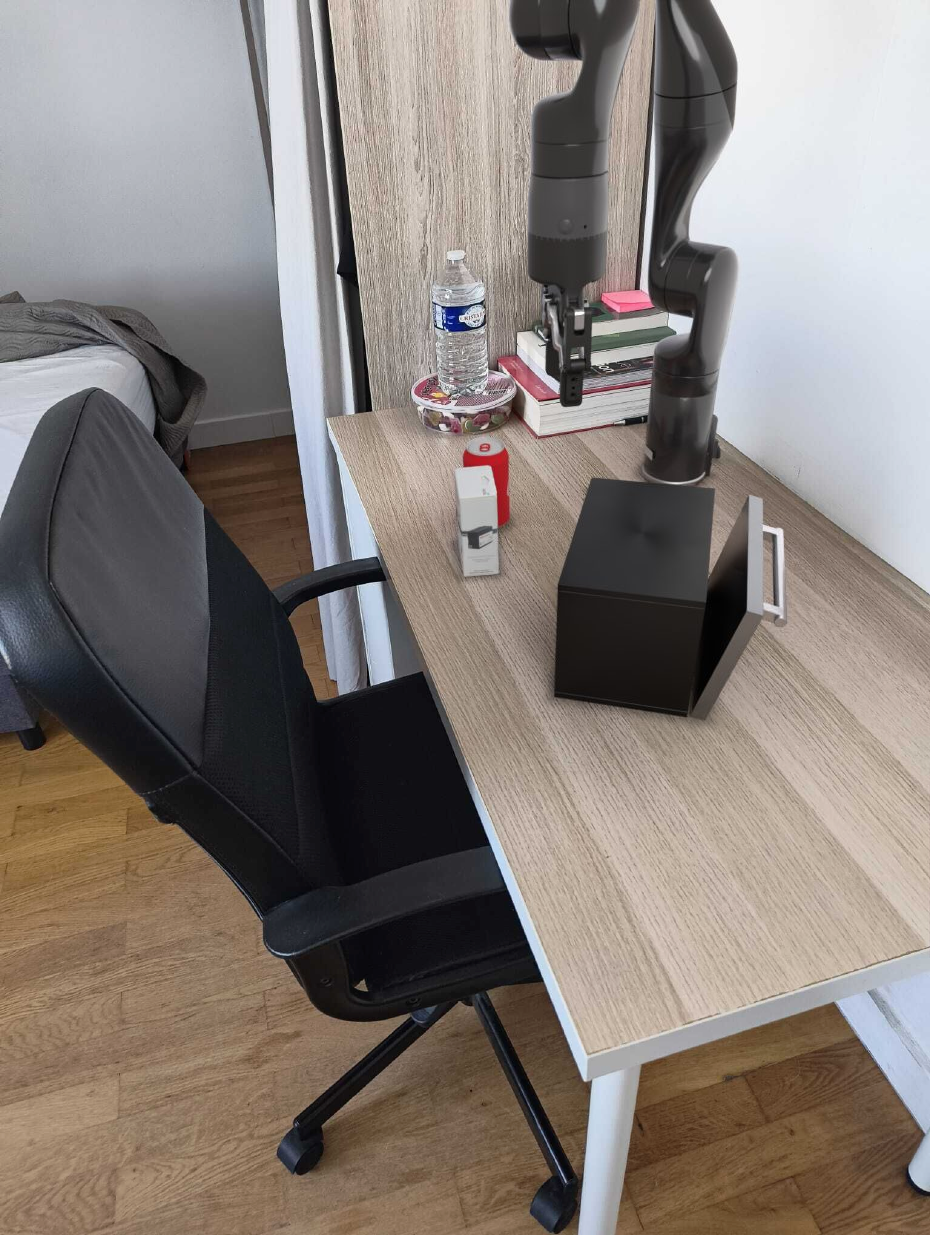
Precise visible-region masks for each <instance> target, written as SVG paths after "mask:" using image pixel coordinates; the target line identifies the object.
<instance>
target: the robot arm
mask: <svg viewBox="0 0 930 1235" xmlns="http://www.w3.org/2000/svg"><path fill="white" fill-rule="evenodd" d="M654 1H655V42H654V43H655V45H654V46H655V47H654V48H655V50H654V80H653V134H654V135H653V136H654V175H653V176H654V177H653V206H652V219H651V220H652V221H651V232H650V240H649V241H650V242H649V252H648V265H647V293H648V298H649V300H650V303H651V305H652V306H653V307H654V308H655V309H656V310H658V311H660V312H663V313H667V314H672V315H676V316H681V317H684V318H685V317H686V318H689V319H692V321H691V322H692V323H691V327H690V331H689V332H683V333H678V334H673V335H669V336H667V337H664V338H663V339H660V340H659V341H658V342H657V343H656V345H655V346H654V349H653V358H652V370H651V381H650V389H649V390H650V391H649V399H648V401H649V402H648V411H647V420H646V421H647V422H646V431H645V441H644V443H643V446H642V452H643V462H642V465H641V475H642V477H643V479H645V480H646V482H649V483H660V484H671V485H682V486H693V487H695V486H697V485H699V484H700V483H702V482H703V481H704V479H705V478H706V477H709V476H710V475H711V468H712V462H713V459H716V460H719V459H721V454H722V450H721V447H720V445H719V442H720V441H719V440H718V439H717V438H716V436H717V429H718V424H719V418H718V416H717V415H716V414H714V411H715V405H716V397H717V392H718V390H717V389H718V383H719V375H720V370H721V364H722V357H723V354H724V351H725V347H726V344H727V341H728V337H729V331H730V326H731V321H732V316H733V315H732V314H733V311H734V305H735V301H736V296H737V292H738V286H739V280H740V259H739V255H738V253H737V252H736V251H735V249H733V247H729V246H727V245H726V246H725V245H721V244H720V245H719V244H714V243H708V242H701V241H696V240H691V238H690V223H691V214H692V209H693V205H694V202H695V199H696V197H697V195H698V192H699V191H700V189H701V187H702V185H703V184H704V181H706V179H707V177H708V176H709V174H710V173H711V171H712V169H713V168H714V167H715V165H716V163H717V162H718V160H719V159H720V157H721V155H722V154H723V152H724V151H725V149H726V147H727V145H728V143H729V141H730V139H731V136H732V134H733V131H734V127H735V120H736V119H735V118H736V109H737V108H736V106H737V93H738V92H737V91H738V75H739V64H738V63H739V62H738V58H737V53H736V51H735V48H734V45H733V43H732V41H731V38H730V36H729V34H728V32H727V30H726V28H725V26H724V24H723V21H722V20H721V18H720V16H719V14H718V12H717V10H716V8H715V6H714V4H713V3H712V1H711V0H654ZM640 2H641V0H509V6H508V23H509V29H510V33H511V36H512V38H513V40H514V42H515V45H516V46H517V47H518V49H519V50H520V51H521V52H522V53H523V54H524V55H526V56H527V57H529V58H530V59H533V60H537V61H542V62H581V68H580V71H579V73H578V76H577V78H576V81H575V83H574V84H573V86H572V88H571V89H570V90H565V91H562V92H557V93H554V94H549V95H546V96H544V97H542V98H540V99H538V100H537V101H536V103H535V104H534V106H533V108H532V112H531V116H530V117H531V118H530V178H529V188H528V196H527V275H528V277H529V278H530V280H532V282H535V283H537V284H540V285H541V296H540V298H541V299H540V300H541V303H540V305H541V306H540V319H539V325H540V326H541V328H542V329H543V330H542V336H543V339H544V340H545V357H544V358H545V360H544V364H545V365H544V370H545V374H546V375H547V376H549V377H552V376H554V377H555V376H559V404H560V406H561V407H563V408H573V407H579V406H581V405H582V404H583V396H584V395H583V392H584V372H590V371H591V367H592V342H593V341H592V340H593V338H592V337H593V317H594V310H593V307H592V306H590V304H589V299H588V298H585V292H584V289H585V287H586V286H587V285H588V284H590V283H591V284H592V283H596V282H598V281H599V280H601V279H602V278H603V277H604V275H605V273H606V264H607V263H606V262H607V246H608V229H609V228H608V225H609V210H610V189H609V188H610V187H609V186H610V185H609V161H610V144H611V142H610V141H611V125H612V118H613V112H614V109H615V108H614V107H615V104H616V99H617V95H618V91H619V87H620V83H621V79H622V75H623V72H624V68H625V65H626V61H627V58H628V56H629V52H630V48H631V47H632V46H631V45H632V42H633V39H634V36H635V32H636V28H637V25H638V24H637V23H638V19H639V12H640V6H641V5H640V4H641V3H640ZM573 349H576V350H577V354H578V357H577V358H575V357H574V358H572V350H573Z"/></svg>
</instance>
